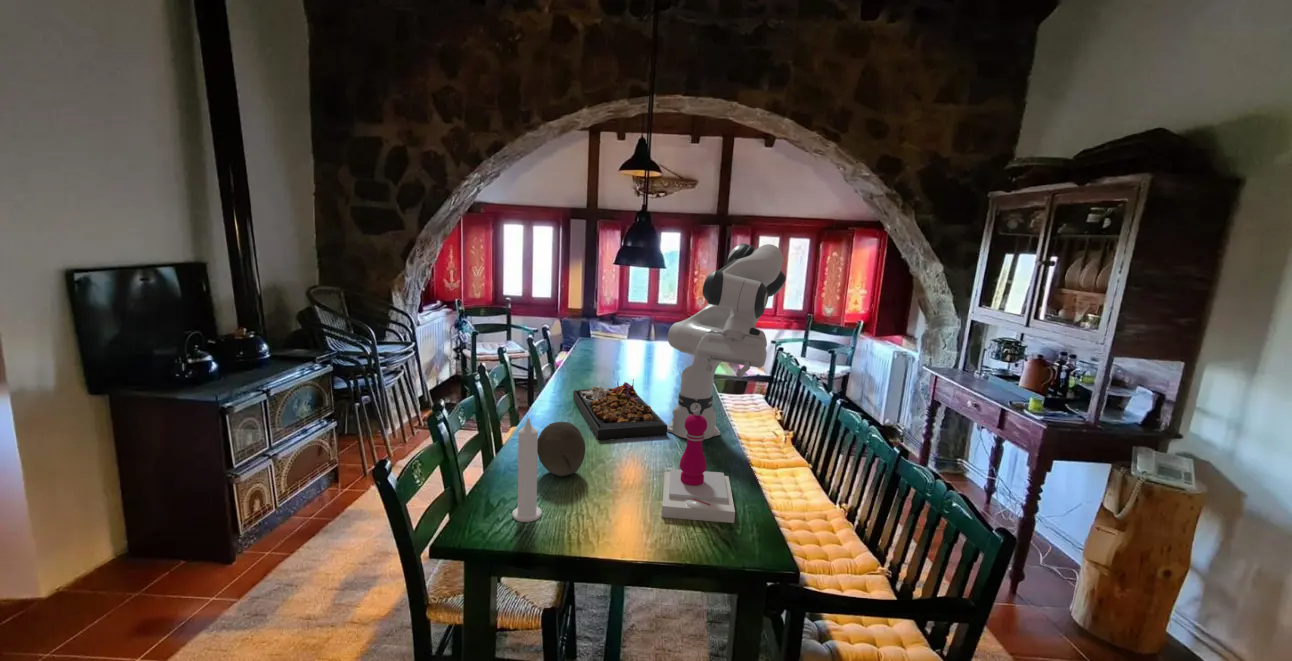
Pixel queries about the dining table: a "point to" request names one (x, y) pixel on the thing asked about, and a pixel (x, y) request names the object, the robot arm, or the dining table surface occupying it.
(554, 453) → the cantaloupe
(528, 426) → the candle
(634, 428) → the food platter
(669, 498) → the kitchen scale
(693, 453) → the pepper mill
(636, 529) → the dining table surface
